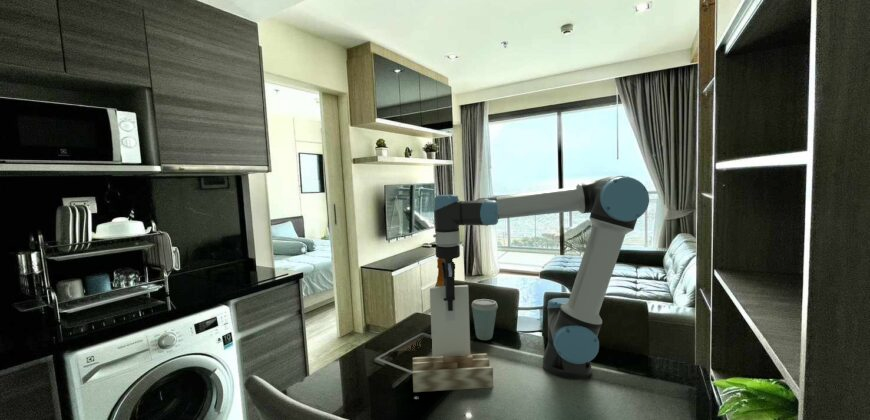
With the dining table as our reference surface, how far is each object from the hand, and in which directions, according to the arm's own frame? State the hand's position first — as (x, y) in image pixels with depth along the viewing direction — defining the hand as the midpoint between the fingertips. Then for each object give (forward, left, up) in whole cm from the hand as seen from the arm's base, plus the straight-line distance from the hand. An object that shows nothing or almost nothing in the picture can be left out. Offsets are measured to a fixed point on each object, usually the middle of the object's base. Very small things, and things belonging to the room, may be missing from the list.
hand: (450, 318), depth 113 cm
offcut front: (+2, +5, -19) cm, 20 cm away
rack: (0, +3, -20) cm, 20 cm away
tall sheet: (0, 0, -12) cm, 12 cm away
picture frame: (+9, -20, -21) cm, 30 cm away
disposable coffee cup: (-17, -30, -20) cm, 40 cm away
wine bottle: (-1, -45, -20) cm, 49 cm away
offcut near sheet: (-2, +3, -19) cm, 19 cm away
